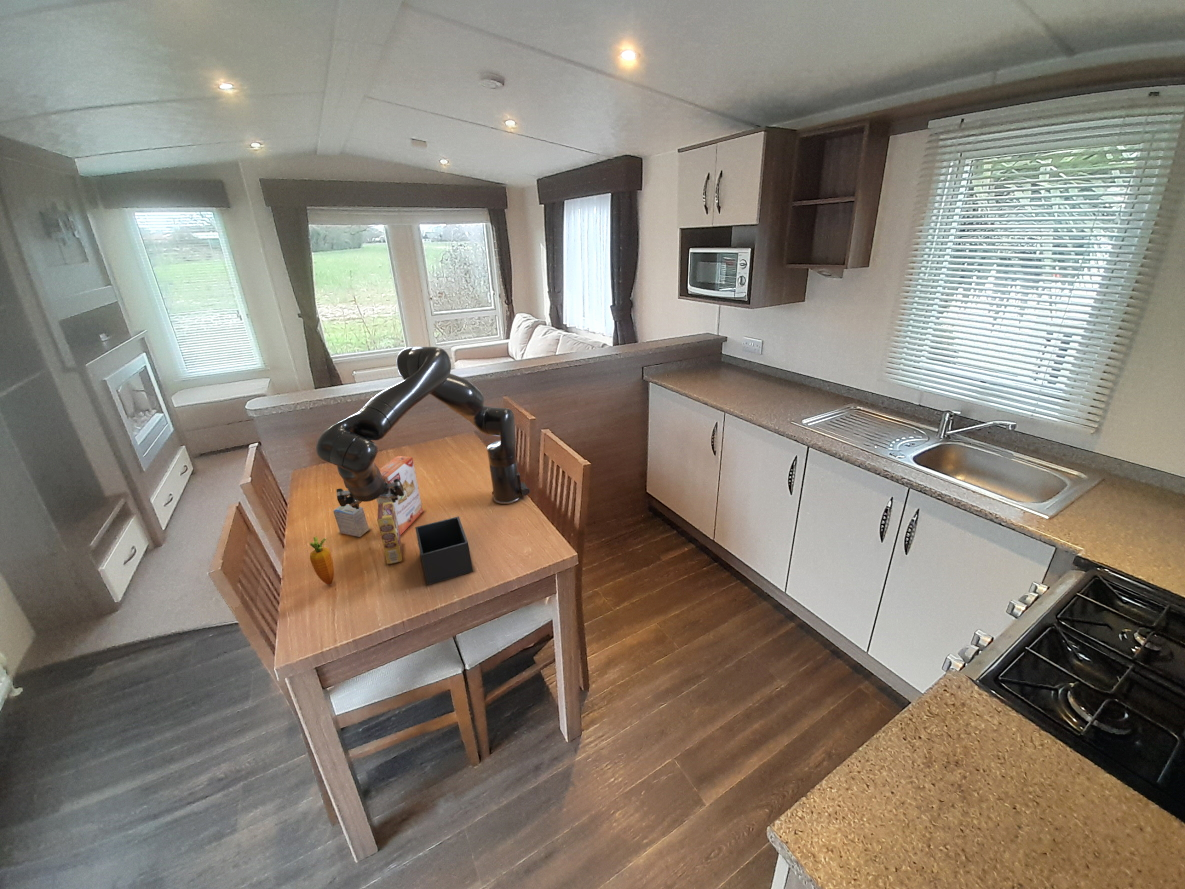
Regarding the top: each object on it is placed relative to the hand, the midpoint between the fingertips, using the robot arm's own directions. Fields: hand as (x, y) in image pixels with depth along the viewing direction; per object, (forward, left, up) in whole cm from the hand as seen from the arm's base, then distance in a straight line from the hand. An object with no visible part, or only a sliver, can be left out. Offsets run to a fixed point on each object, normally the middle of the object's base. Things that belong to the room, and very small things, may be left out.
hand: (375, 502), depth 121 cm
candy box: (-1, -10, -24) cm, 26 cm away
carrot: (+16, -4, -24) cm, 29 cm away
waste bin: (-14, +1, -24) cm, 27 cm away
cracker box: (-5, -26, -24) cm, 36 cm away
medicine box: (+10, -28, -24) cm, 38 cm away
